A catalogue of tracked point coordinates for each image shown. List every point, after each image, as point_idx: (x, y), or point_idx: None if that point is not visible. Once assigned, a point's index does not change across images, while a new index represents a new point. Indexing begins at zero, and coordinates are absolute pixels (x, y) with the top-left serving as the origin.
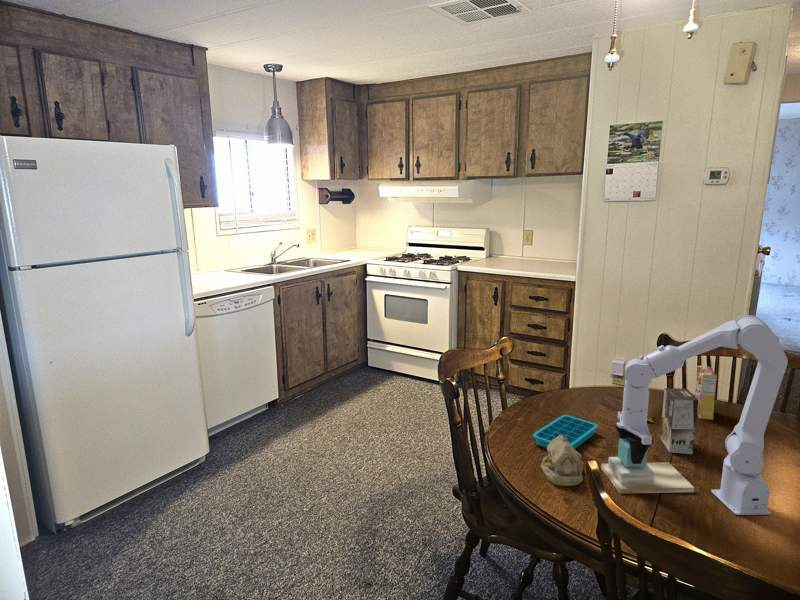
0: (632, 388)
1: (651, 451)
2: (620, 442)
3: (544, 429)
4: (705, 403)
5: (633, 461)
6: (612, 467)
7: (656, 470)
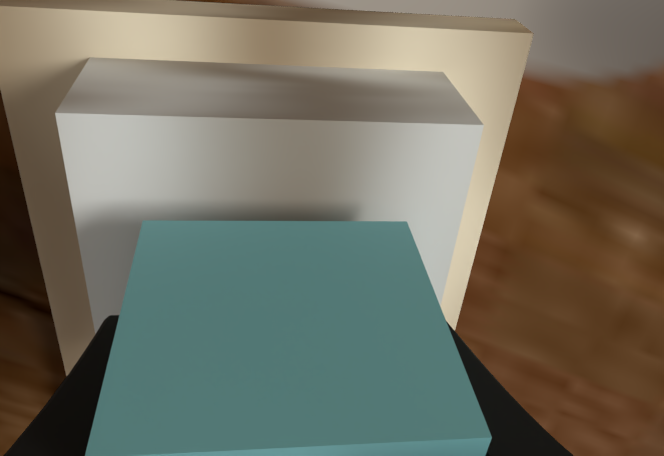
0: None
1: (592, 444)
2: (411, 404)
3: None
4: None
5: (90, 344)
6: (338, 91)
7: None
